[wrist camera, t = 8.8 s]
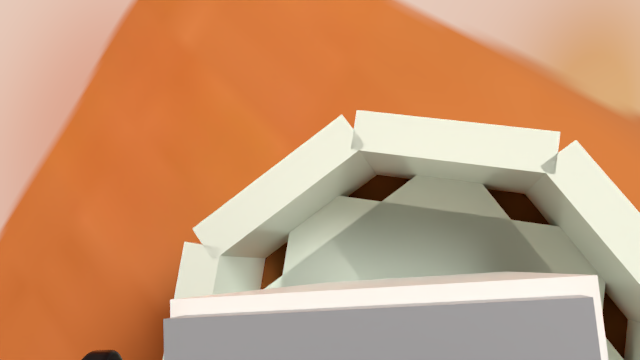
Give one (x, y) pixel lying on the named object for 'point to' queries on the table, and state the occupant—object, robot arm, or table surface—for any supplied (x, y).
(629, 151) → the table surface
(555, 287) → the pebble canister
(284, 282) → the sage bowl
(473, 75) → the table surface
